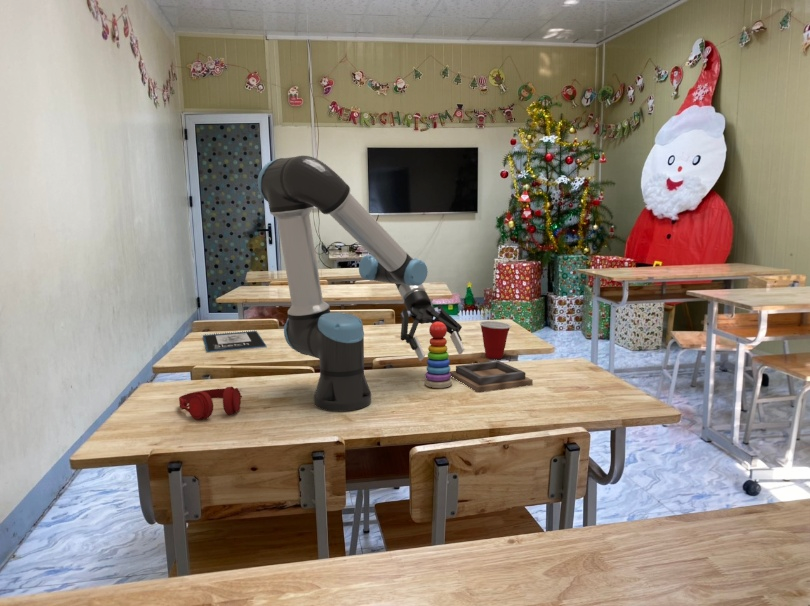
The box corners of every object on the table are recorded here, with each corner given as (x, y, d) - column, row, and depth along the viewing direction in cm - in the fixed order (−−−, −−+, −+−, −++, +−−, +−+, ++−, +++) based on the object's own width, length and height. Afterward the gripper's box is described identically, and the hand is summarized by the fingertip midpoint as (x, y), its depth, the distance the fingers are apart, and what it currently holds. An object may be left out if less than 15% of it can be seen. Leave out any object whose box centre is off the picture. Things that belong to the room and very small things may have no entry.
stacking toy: (457, 386, 172) (457, 322, 169) (435, 390, 167) (435, 325, 164) (440, 379, 178) (440, 318, 175) (419, 384, 174) (418, 321, 171)
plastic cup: (510, 361, 198) (511, 326, 197) (478, 360, 201) (478, 325, 199) (511, 354, 209) (511, 320, 207) (480, 352, 211) (480, 319, 209)
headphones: (250, 414, 149) (232, 403, 167) (247, 386, 149) (229, 378, 166) (188, 424, 142) (176, 412, 159) (185, 395, 142) (173, 386, 159)
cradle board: (477, 392, 165) (478, 380, 165) (449, 376, 182) (449, 365, 181) (532, 384, 172) (532, 373, 171) (500, 369, 188) (500, 359, 188)
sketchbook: (206, 355, 216) (206, 349, 215) (202, 338, 243) (202, 333, 243) (266, 349, 223) (266, 343, 223) (256, 333, 251) (256, 329, 251)
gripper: (444, 300, 189) (471, 356, 179) (374, 308, 177) (400, 368, 166) (453, 286, 184) (482, 342, 173) (382, 292, 171) (409, 353, 161)
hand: (442, 355), depth 170 cm, fingers open, 13 cm apart
